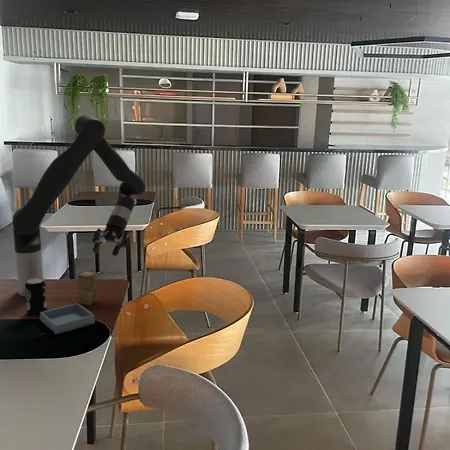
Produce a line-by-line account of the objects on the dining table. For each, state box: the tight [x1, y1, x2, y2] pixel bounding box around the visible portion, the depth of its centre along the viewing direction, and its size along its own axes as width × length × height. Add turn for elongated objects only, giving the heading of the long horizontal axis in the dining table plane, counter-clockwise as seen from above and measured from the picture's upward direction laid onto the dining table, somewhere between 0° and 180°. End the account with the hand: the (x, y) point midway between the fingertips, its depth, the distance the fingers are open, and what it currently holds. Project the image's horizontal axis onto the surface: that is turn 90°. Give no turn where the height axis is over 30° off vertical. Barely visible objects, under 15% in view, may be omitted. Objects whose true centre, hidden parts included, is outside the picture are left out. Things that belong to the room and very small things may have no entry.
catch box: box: [39, 302, 96, 335], centre depth 156 cm, size 13×13×3 cm
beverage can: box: [25, 277, 48, 317], centre depth 162 cm, size 7×7×12 cm
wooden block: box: [77, 271, 98, 306], centre depth 172 cm, size 4×4×11 cm
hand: (104, 254), depth 181 cm, fingers open, 8 cm apart
